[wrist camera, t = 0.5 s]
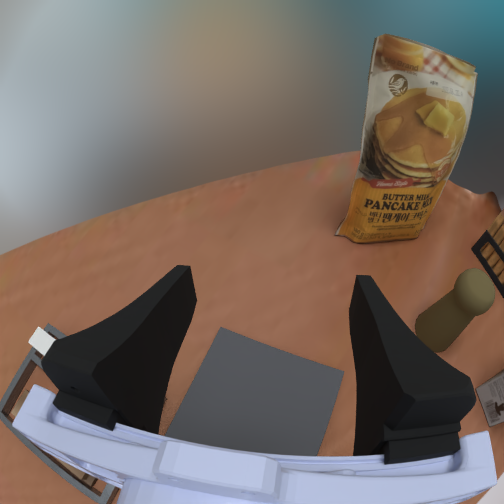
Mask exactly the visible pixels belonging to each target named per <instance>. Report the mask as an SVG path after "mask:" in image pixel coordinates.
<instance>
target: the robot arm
mask: <svg viewBox="0 0 504 504" xmlns="http://www.w3.org/2000/svg"><path fill="white" fill-rule="evenodd" d="M196 302H197V298H196V293H195V288H194V283H193V278H192V273H191V268H190V266H184V265H177V266H176V267H174V268H173V269H172V270H171V271H170V272H168V273H167V274H166V275H165V276H164V277H163V278H162V279H160V280H159V281H158V282H157V283H156V284H154V285H153V286H152V287H151V288H150V289H149V290H147V291H146V292H145V293H143V294H142V295H141V296H140V297H138V298H137V299H136V300H134V301H133V302H132V303H130V304H129V305H128V306H126V307H125V308H123V309H122V310H120V311H119V312H117V313H115V314H114V315H112V316H110V317H109V318H107V319H105V320H103V321H101V322H99V323H98V324H96V325H94V326H92V327H89V328H87V329H85V330H83V331H80V332H78V333H75V334H73V335H70V336H67V337H64V338H61V339H58V340H55V341H54V342H53V343H52V345H51V346H50V348H49V350H48V351H47V353H46V354H45V356H44V357H43V359H42V360H41V365H42V368H43V370H44V372H45V373H46V375H47V376H48V377H49V378H50V380H51V381H52V382H53V383H54V384H55V386H56V387H57V388H58V389H59V391H58V393H57V395H56V394H54V393H53V392H51V391H49V390H47V389H45V388H43V387H40V386H38V385H36V384H35V385H34V386H33V387H32V389H31V391H30V392H29V394H28V396H27V398H26V399H25V401H24V403H23V405H22V407H21V408H20V410H19V412H18V414H17V416H16V418H15V420H14V422H13V423H12V426H13V427H14V428H15V429H16V430H18V431H19V432H20V433H21V434H22V435H24V436H25V437H26V438H27V439H29V440H30V441H31V442H32V443H34V444H35V445H36V446H38V447H39V448H40V449H42V450H43V451H45V452H47V453H49V454H50V455H52V456H54V457H56V458H58V459H60V460H62V461H63V462H65V463H67V464H69V465H71V466H73V467H75V468H77V469H79V470H81V471H83V472H85V473H87V474H89V475H91V476H93V477H95V478H98V479H100V480H102V481H104V482H106V483H109V484H111V485H113V486H116V487H118V488H121V492H120V495H119V498H118V501H117V504H456V503H459V502H463V501H465V500H467V499H470V498H472V497H474V496H476V495H478V494H480V493H482V492H484V491H485V490H487V489H489V488H491V487H493V486H495V485H496V484H497V477H496V470H495V463H494V457H493V452H492V447H491V441H490V437H489V432H488V431H483V432H479V433H474V434H470V435H466V436H463V437H461V438H460V439H459V436H458V432H459V431H460V430H461V425H460V421H461V420H462V419H463V418H464V417H465V416H466V415H467V413H468V412H469V411H470V410H471V409H472V408H473V406H474V405H475V403H476V396H475V392H474V388H473V385H472V382H471V379H470V377H468V376H467V375H465V374H464V373H462V372H460V371H459V370H457V369H456V368H454V367H452V366H451V365H450V364H448V363H447V362H446V361H444V360H443V359H442V358H440V357H439V356H438V355H437V354H435V353H434V352H433V351H432V350H431V349H430V348H429V347H427V346H426V345H425V344H424V343H423V342H422V341H421V340H420V339H419V338H418V337H417V336H416V335H415V334H414V333H413V332H412V331H411V330H410V329H409V328H408V326H407V325H406V324H405V323H404V322H403V320H402V319H401V318H400V317H399V316H398V314H397V313H396V312H395V310H394V309H393V308H392V306H391V305H390V303H389V302H388V301H387V299H386V298H385V296H384V295H383V293H382V292H381V291H380V289H379V288H378V286H377V285H376V283H375V282H374V280H373V279H372V277H371V276H368V275H356V280H355V285H354V290H353V295H352V299H351V304H350V308H349V323H350V335H351V342H352V349H353V356H354V363H355V370H356V382H357V404H356V428H355V441H354V451H353V456H338V457H324V456H293V455H278V454H267V453H257V452H248V451H240V450H233V449H226V448H220V447H214V446H208V445H202V444H197V443H192V442H187V441H183V440H178V439H174V438H169V437H165V436H161V435H158V432H159V426H160V419H161V414H162V409H163V404H164V399H165V395H166V391H167V387H168V382H169V379H170V375H171V372H172V368H173V365H174V362H175V359H176V357H177V354H178V352H179V349H180V347H181V345H182V342H183V340H184V337H185V335H186V333H187V330H188V328H189V325H190V323H191V320H192V317H193V314H194V310H195V306H196Z"/></svg>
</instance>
